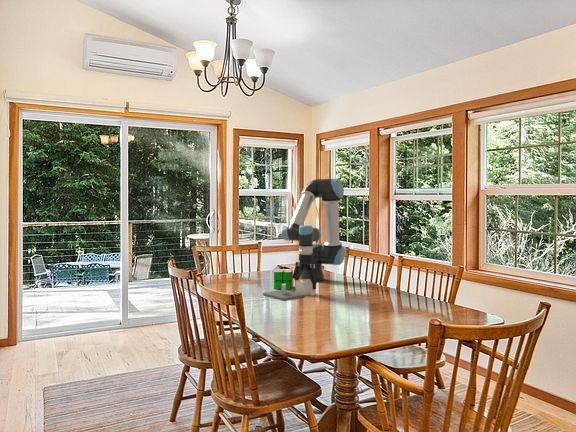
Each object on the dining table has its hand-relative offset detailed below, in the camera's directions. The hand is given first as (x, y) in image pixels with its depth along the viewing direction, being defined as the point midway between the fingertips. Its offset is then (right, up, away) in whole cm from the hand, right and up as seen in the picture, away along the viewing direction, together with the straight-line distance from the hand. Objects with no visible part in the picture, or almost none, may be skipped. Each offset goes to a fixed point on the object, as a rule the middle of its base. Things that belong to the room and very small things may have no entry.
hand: (305, 293), depth 251 cm
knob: (0, 0, 0) cm, 0 cm away
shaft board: (-12, 0, -6) cm, 13 cm away
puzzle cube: (-12, 0, +17) cm, 21 cm away
